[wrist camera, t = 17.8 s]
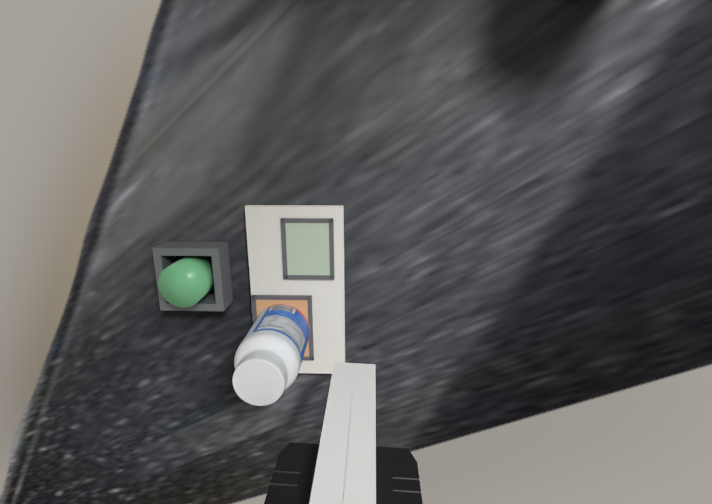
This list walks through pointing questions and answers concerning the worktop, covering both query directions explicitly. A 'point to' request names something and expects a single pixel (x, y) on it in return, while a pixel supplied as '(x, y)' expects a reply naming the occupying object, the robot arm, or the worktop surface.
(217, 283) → the button frame
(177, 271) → the button
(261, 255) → the white rectangular board
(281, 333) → the pill bottle
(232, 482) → the worktop surface
